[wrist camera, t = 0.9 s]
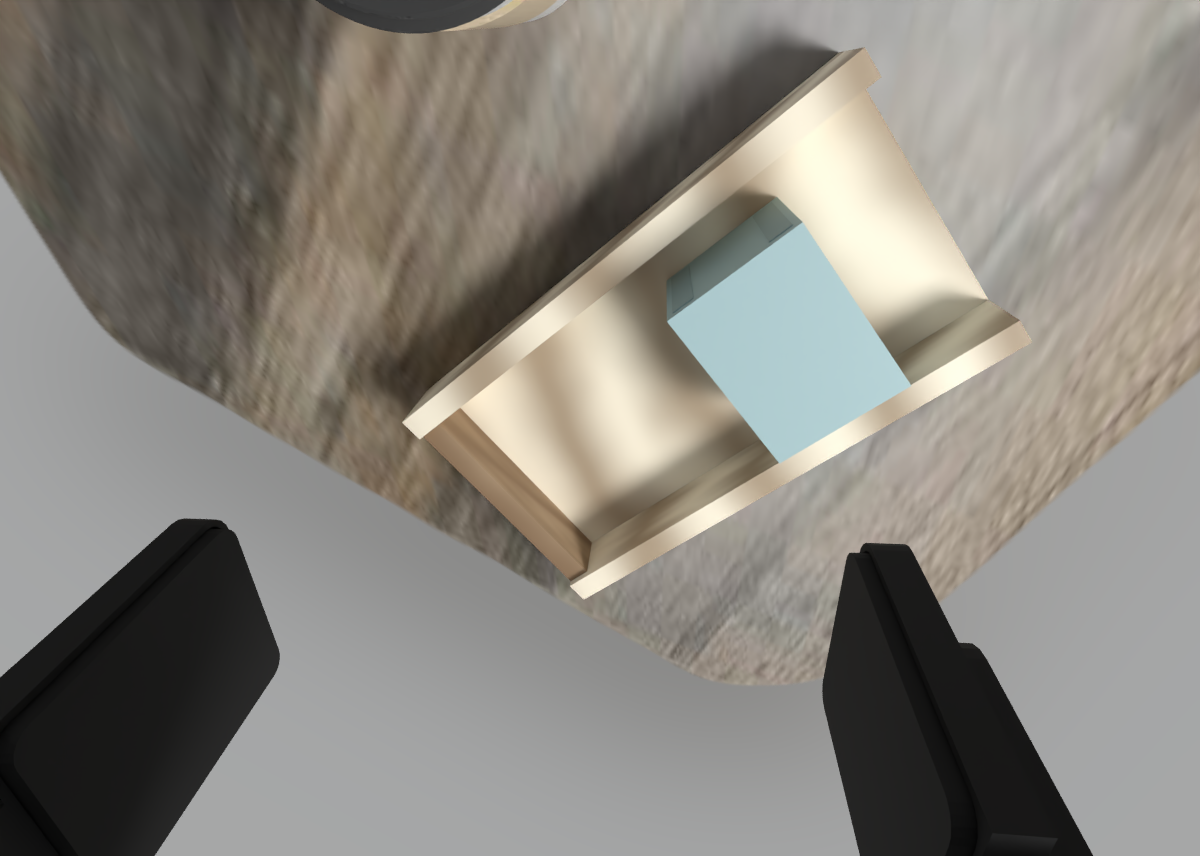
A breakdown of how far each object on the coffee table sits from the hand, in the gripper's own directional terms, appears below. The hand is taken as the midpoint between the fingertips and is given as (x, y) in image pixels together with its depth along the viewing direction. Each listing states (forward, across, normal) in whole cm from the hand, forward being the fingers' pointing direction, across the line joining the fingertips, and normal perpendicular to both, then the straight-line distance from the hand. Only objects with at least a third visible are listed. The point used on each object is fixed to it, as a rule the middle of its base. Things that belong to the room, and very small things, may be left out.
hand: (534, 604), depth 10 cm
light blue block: (+24, -7, +3) cm, 25 cm away
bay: (+24, -3, +5) cm, 25 cm away
